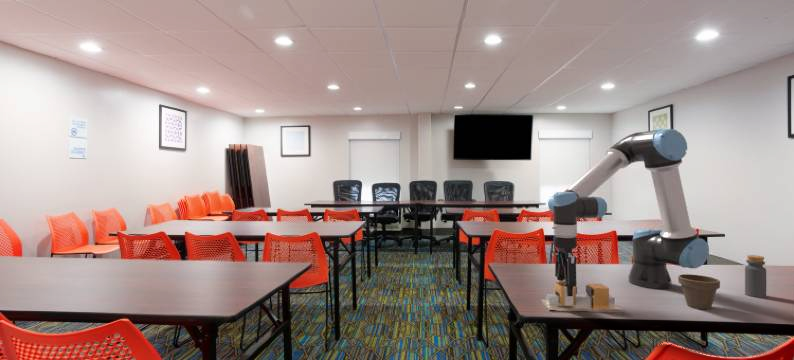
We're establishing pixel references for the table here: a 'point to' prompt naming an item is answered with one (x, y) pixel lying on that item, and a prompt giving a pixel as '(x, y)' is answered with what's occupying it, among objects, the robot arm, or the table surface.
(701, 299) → the flower pot
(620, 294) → the table surface
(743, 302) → the table surface
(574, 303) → the orange cube
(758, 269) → the bottle
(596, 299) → the rail
